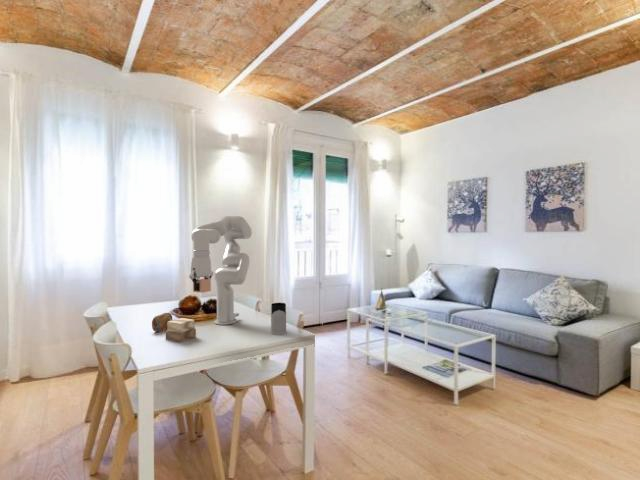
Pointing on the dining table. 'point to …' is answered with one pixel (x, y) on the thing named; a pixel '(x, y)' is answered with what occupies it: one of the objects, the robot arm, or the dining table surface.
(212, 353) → the dining table surface
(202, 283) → the cube
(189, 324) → the top block
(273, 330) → the glass holder
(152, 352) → the dining table surface
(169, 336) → the base block
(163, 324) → the brown rounded slab
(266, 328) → the dining table surface
